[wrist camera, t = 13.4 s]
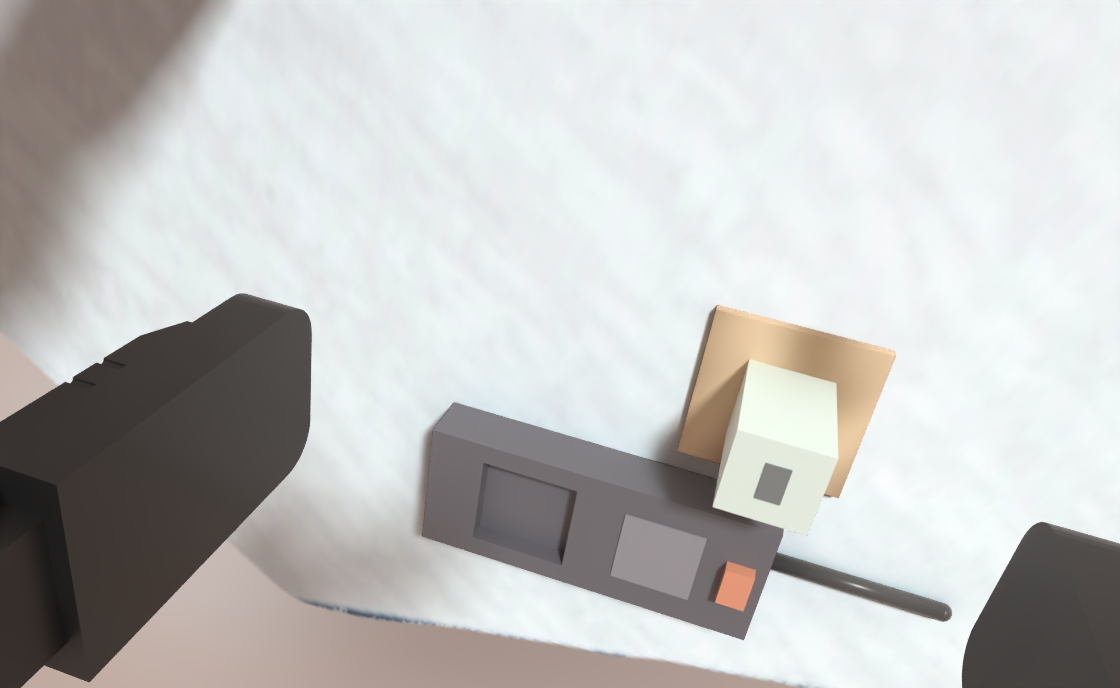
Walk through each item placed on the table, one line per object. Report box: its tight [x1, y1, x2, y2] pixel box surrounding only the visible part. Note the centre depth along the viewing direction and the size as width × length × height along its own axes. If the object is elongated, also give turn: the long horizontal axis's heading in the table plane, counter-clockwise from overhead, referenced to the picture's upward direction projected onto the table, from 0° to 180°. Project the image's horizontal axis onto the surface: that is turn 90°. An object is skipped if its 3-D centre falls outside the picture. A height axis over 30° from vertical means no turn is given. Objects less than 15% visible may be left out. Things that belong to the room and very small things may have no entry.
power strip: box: [422, 402, 952, 640], centre depth 49 cm, size 30×8×4 cm, turn 81°
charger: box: [713, 359, 838, 536], centre depth 42 cm, size 4×4×7 cm
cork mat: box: [677, 305, 896, 498], centre depth 45 cm, size 9×9×1 cm
